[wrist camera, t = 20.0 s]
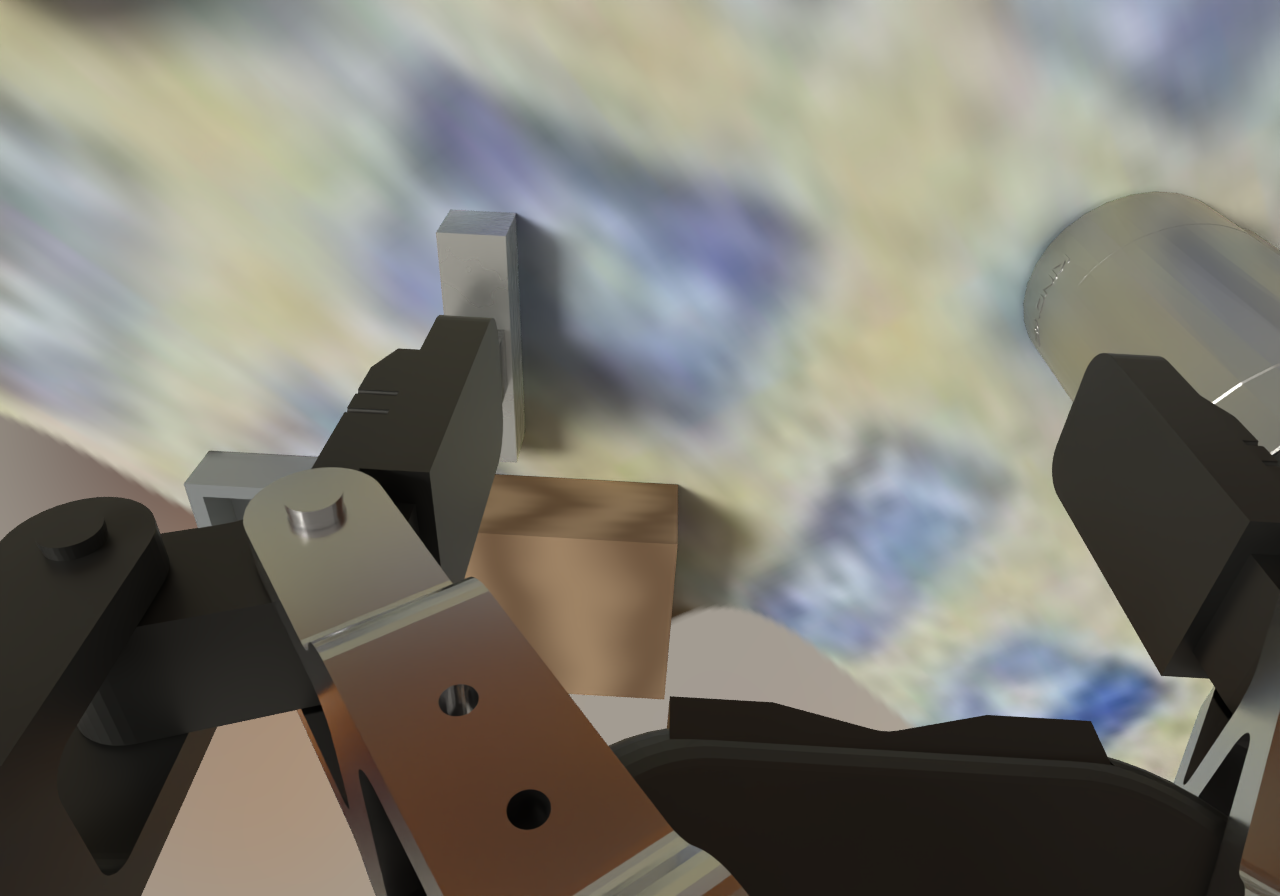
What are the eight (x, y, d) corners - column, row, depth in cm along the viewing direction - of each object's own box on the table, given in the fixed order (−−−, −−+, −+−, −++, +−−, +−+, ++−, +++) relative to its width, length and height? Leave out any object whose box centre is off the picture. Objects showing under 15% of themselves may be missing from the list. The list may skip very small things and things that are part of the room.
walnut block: (677, 484, 48) (677, 544, 44) (665, 635, 55) (664, 699, 51) (390, 468, 48) (363, 526, 44) (413, 620, 55) (392, 683, 51)
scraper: (516, 212, 40) (478, 295, 32) (525, 429, 47) (496, 539, 39) (451, 208, 40) (399, 291, 32) (469, 426, 47) (430, 536, 39)
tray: (389, 461, 48) (373, 494, 46) (413, 620, 55) (401, 657, 53) (209, 451, 48) (183, 483, 46) (256, 611, 55) (236, 647, 53)
